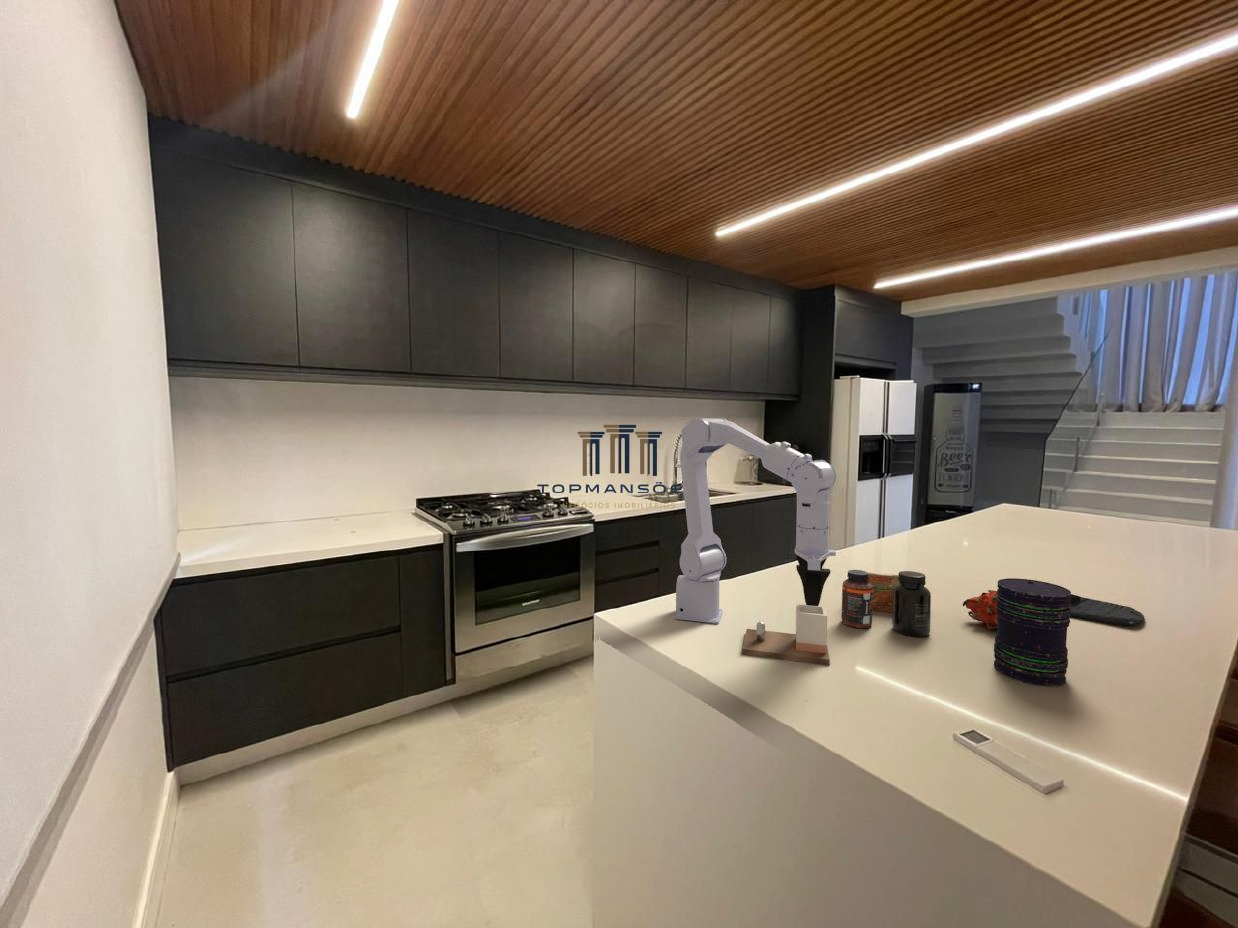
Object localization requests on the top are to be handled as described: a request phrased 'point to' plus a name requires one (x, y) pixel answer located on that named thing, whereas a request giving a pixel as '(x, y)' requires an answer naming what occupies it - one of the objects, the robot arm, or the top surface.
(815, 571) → the robot arm
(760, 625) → the steel pin
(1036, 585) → the dark blue cylinder
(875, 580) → the tin
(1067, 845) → the top surface
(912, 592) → the supplement bottle
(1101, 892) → the top surface
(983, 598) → the dragon fruit
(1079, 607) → the dark slate chunk
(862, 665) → the top surface
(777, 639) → the board
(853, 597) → the supplement bottle
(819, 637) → the sleeve
